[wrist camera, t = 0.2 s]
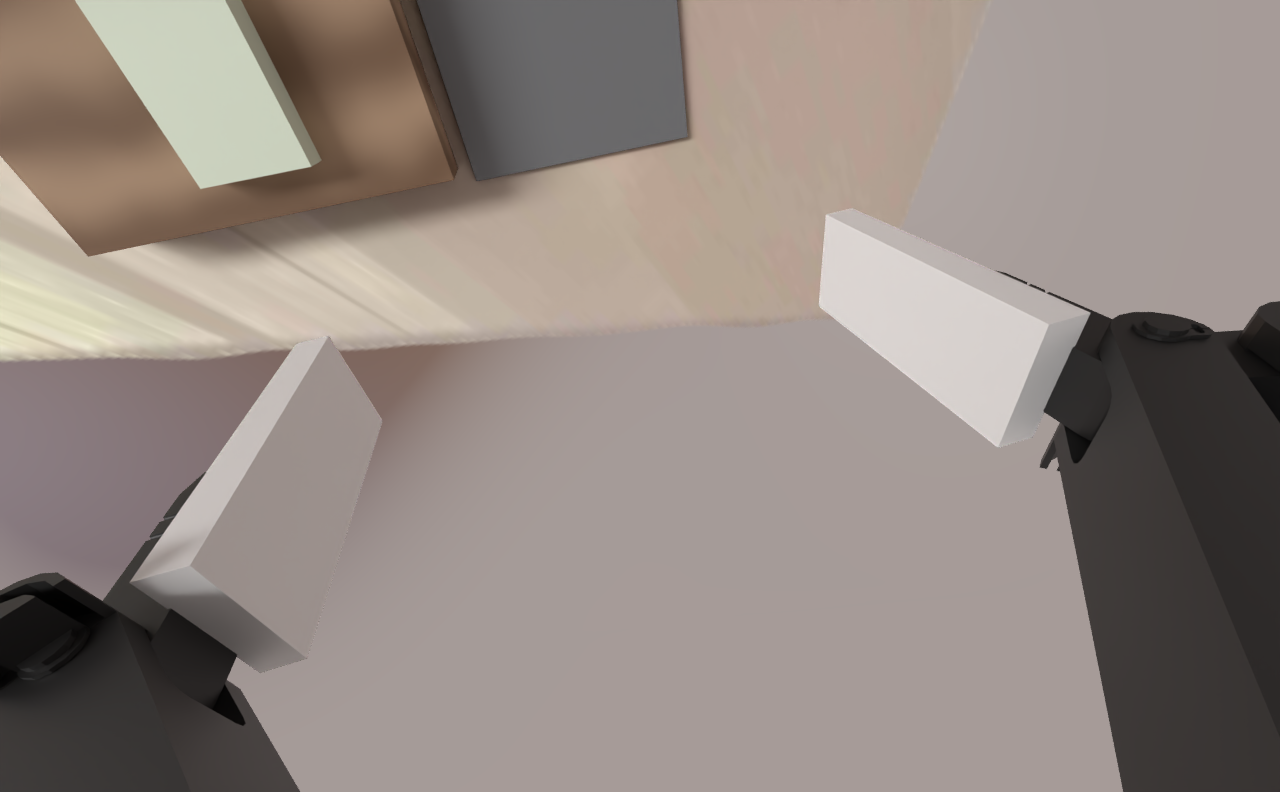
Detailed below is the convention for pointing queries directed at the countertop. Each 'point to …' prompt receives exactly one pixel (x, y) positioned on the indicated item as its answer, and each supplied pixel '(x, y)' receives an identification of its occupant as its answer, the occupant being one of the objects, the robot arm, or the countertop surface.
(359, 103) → the board
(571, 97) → the mat
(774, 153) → the countertop surface
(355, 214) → the countertop surface
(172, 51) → the pale green block
